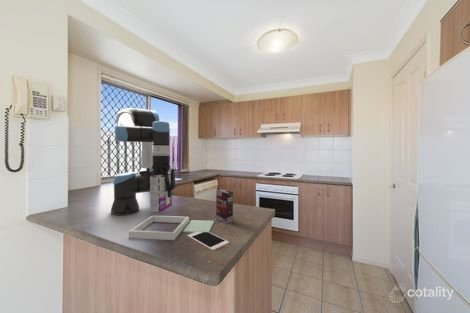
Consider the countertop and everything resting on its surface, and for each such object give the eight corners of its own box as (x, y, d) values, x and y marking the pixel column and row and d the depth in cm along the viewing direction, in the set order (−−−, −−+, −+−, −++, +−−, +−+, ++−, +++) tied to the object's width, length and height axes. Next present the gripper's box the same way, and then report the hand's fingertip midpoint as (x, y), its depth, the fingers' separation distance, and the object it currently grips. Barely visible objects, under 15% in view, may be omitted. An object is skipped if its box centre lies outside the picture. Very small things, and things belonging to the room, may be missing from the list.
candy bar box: (162, 204, 100) (163, 172, 99) (172, 205, 99) (172, 173, 98) (149, 212, 89) (149, 175, 88) (159, 213, 88) (159, 176, 87)
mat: (182, 232, 91) (182, 230, 91) (191, 221, 105) (191, 220, 105) (208, 233, 90) (208, 232, 90) (214, 221, 104) (214, 220, 104)
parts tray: (128, 238, 85) (128, 231, 85) (151, 221, 105) (151, 215, 104) (174, 240, 83) (174, 233, 83) (188, 222, 103) (188, 216, 103)
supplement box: (215, 219, 108) (215, 190, 107) (222, 217, 111) (222, 189, 111) (226, 223, 102) (227, 193, 101) (233, 221, 105) (233, 191, 105)
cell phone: (203, 231, 93) (203, 229, 93) (229, 244, 81) (229, 241, 81) (186, 237, 87) (186, 234, 87) (212, 252, 74) (212, 249, 74)
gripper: (137, 154, 89) (138, 205, 91) (177, 155, 88) (177, 207, 89) (146, 154, 97) (147, 200, 98) (183, 155, 95) (182, 202, 97)
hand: (161, 203), depth 94 cm, fingers closed on candy bar box, 5 cm apart
